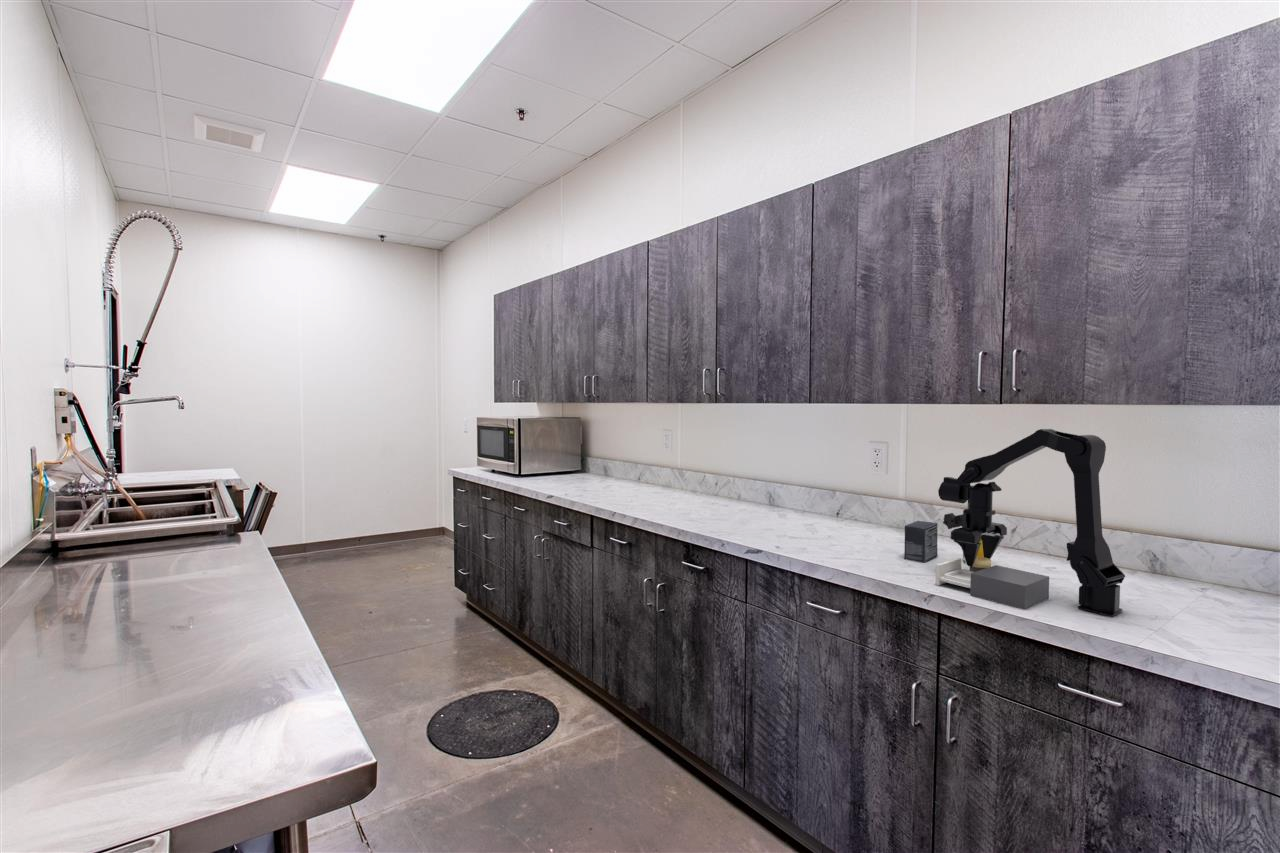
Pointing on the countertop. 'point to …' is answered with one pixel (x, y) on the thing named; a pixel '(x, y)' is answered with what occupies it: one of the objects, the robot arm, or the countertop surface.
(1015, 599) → the block
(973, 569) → the puck
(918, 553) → the small box
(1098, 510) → the robot arm
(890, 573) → the countertop surface
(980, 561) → the disc
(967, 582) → the tray
